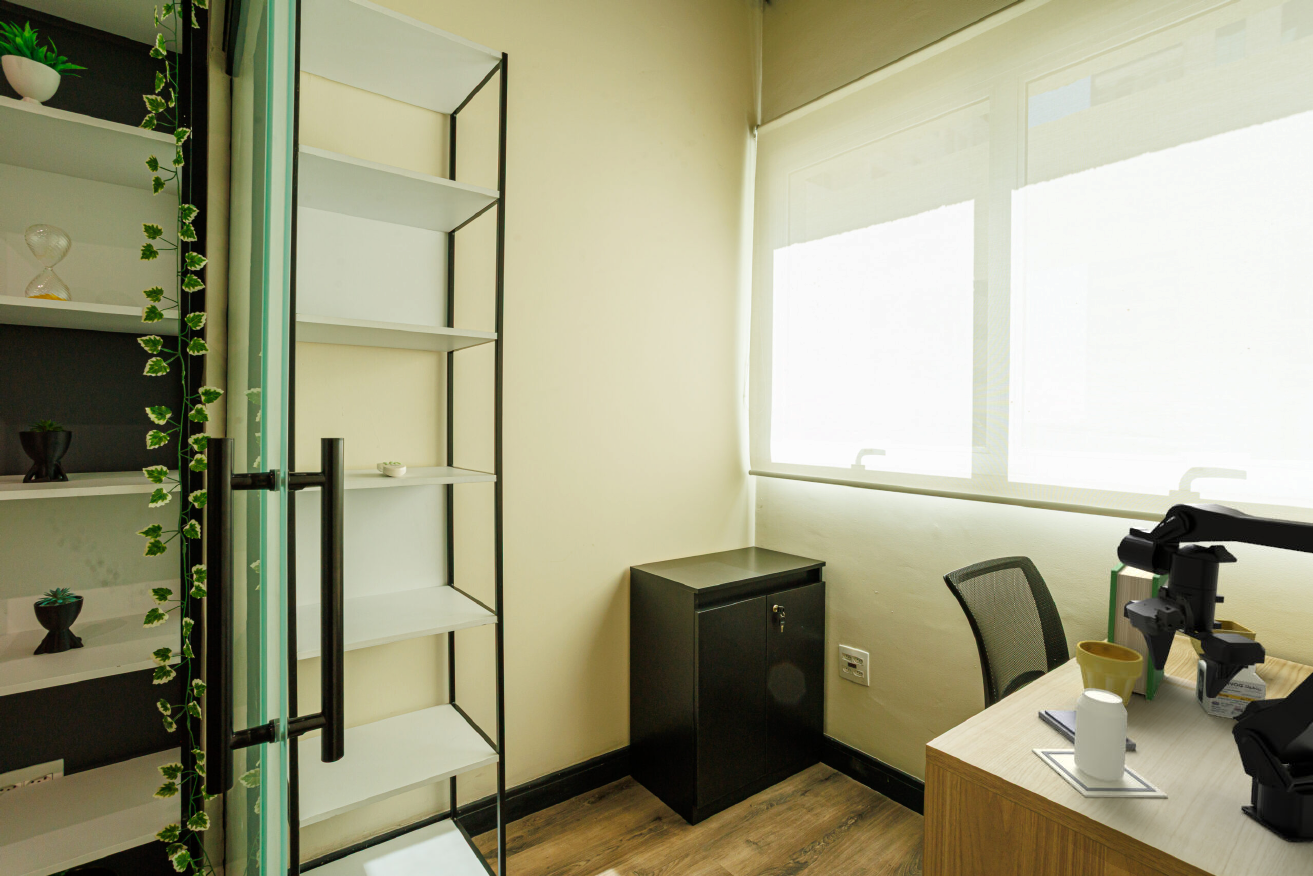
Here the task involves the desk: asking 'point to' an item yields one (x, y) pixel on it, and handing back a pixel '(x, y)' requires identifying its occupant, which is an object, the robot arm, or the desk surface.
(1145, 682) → the hardback book
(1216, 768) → the desk surface
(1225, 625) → the flower pot
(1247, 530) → the robot arm
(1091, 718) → the beverage can
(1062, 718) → the ink pad
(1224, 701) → the container
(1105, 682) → the plant pot
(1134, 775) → the print card
